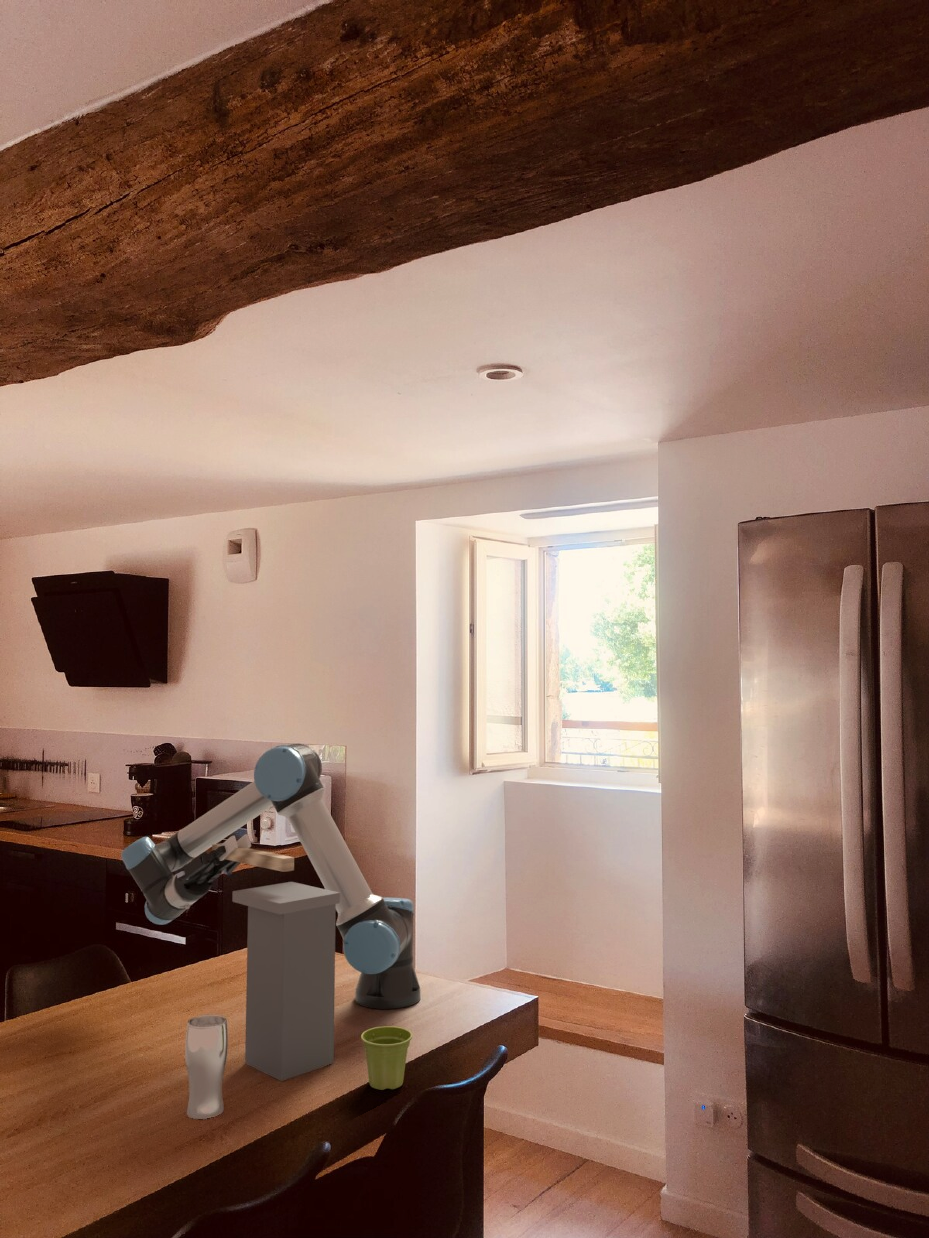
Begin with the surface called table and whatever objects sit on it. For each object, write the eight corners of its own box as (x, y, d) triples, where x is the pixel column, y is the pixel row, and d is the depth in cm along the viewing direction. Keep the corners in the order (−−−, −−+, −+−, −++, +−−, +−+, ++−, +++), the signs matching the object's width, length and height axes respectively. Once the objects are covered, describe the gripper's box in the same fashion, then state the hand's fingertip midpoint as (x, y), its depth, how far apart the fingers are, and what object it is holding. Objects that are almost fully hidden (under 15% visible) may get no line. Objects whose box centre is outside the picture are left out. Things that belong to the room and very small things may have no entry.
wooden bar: (211, 856, 206) (212, 844, 206) (222, 854, 207) (222, 843, 208) (283, 871, 188) (283, 858, 188) (293, 870, 189) (294, 857, 190)
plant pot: (422, 1080, 177) (422, 1032, 177) (391, 1098, 169) (391, 1047, 169) (381, 1070, 182) (382, 1022, 182) (349, 1087, 174) (350, 1037, 174)
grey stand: (229, 1059, 187) (232, 891, 189) (289, 1041, 197) (291, 881, 199) (276, 1082, 176) (279, 903, 178) (337, 1061, 186) (339, 892, 188)
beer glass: (214, 1122, 159) (217, 1028, 160) (176, 1118, 160) (178, 1026, 162) (233, 1105, 166) (235, 1015, 167) (195, 1101, 167) (198, 1012, 168)
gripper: (224, 896, 218) (277, 853, 204) (160, 906, 206) (213, 862, 193) (215, 864, 221) (268, 820, 208) (152, 873, 210) (203, 827, 196)
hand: (241, 840), depth 200 cm, fingers closed on wooden bar, 2 cm apart
